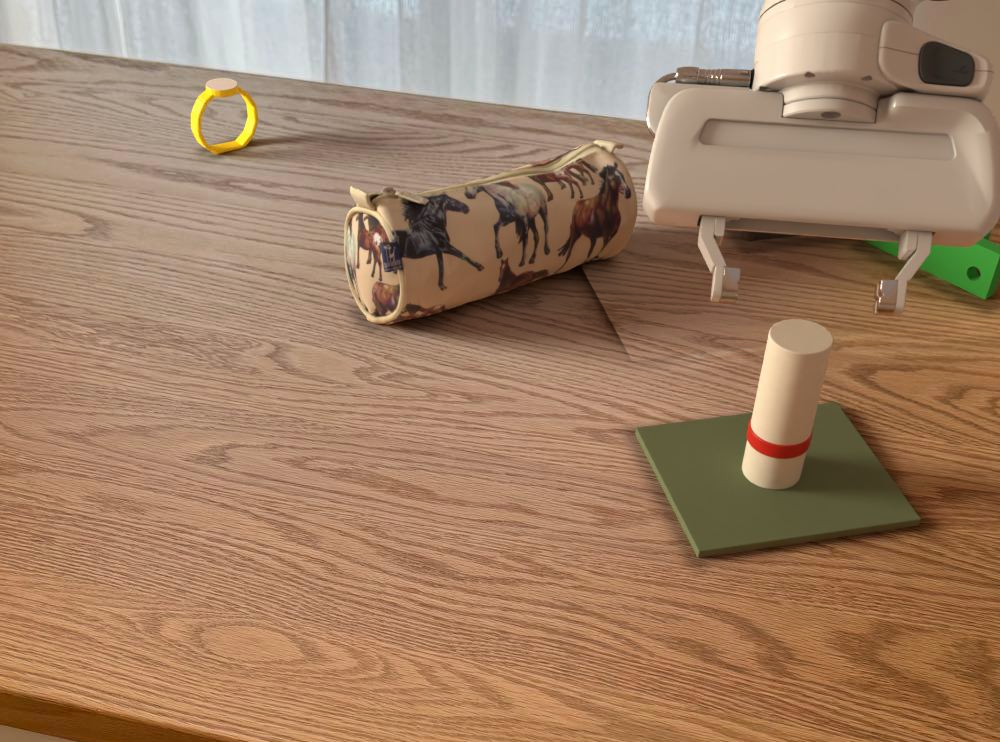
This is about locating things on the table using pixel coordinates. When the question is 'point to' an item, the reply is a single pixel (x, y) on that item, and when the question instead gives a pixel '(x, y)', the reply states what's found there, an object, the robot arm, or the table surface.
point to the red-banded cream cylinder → (786, 403)
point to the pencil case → (486, 233)
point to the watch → (222, 90)
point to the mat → (765, 512)
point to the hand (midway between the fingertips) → (805, 307)
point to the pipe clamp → (960, 264)
